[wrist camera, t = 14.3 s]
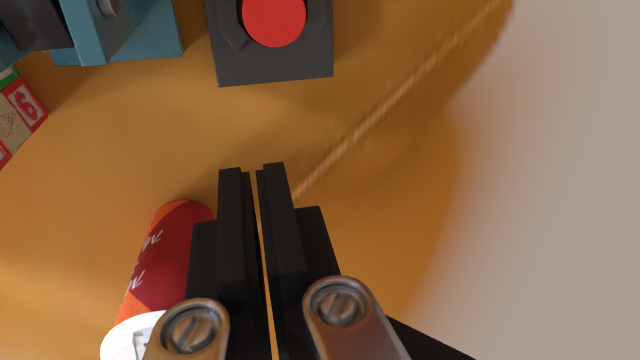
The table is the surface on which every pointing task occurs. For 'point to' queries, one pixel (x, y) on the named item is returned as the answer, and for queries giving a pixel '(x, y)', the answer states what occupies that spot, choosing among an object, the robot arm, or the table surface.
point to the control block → (269, 62)
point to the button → (274, 20)
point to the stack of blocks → (17, 113)
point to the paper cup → (155, 279)
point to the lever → (35, 24)
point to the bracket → (110, 33)
